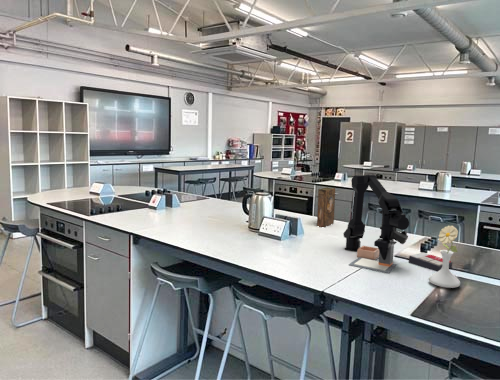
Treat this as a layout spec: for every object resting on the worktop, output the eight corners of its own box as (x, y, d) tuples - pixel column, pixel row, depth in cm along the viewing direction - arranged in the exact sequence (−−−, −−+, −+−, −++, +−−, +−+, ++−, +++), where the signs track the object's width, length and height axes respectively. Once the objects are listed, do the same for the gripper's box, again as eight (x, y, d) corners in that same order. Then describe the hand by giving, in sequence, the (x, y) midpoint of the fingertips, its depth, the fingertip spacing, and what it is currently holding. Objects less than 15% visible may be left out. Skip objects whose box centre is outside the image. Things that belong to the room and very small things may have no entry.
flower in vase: (424, 279, 158) (428, 220, 155) (452, 280, 157) (457, 221, 154) (436, 291, 145) (441, 227, 142) (467, 293, 144) (473, 228, 141)
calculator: (439, 264, 167) (409, 254, 180) (438, 274, 168) (408, 263, 180) (453, 260, 173) (422, 251, 186) (451, 269, 174) (421, 259, 186)
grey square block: (378, 264, 174) (379, 243, 173) (381, 261, 178) (383, 241, 177) (389, 266, 171) (391, 245, 170) (392, 263, 175) (394, 242, 174)
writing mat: (348, 265, 175) (348, 263, 175) (358, 257, 186) (359, 256, 186) (388, 273, 165) (388, 271, 165) (397, 265, 176) (397, 263, 176)
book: (323, 227, 251) (325, 190, 248) (316, 226, 254) (317, 189, 251) (333, 223, 264) (335, 188, 261) (326, 222, 267) (327, 187, 264)
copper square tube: (357, 257, 188) (357, 249, 187) (362, 253, 194) (363, 245, 194) (374, 260, 183) (374, 252, 182) (379, 256, 190) (379, 248, 189)
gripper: (401, 231, 160) (398, 267, 162) (411, 224, 175) (409, 256, 177) (374, 227, 167) (372, 262, 169) (387, 220, 182) (384, 252, 184)
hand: (385, 258), depth 175 cm, fingers closed on grey square block, 5 cm apart
